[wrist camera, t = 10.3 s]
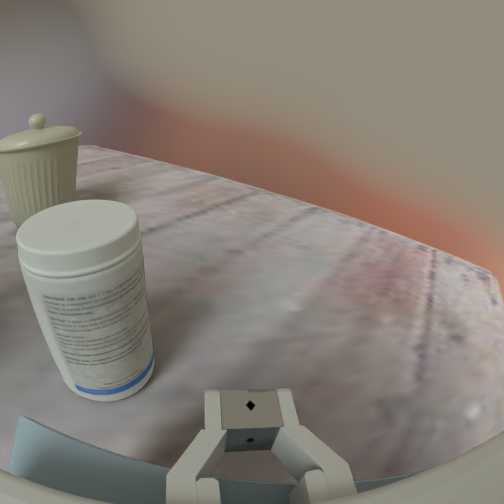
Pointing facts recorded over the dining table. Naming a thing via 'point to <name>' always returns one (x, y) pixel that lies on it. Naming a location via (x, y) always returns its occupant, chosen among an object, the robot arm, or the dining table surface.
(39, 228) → the supplement tub
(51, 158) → the canister
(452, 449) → the dining table surface
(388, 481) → the cover
